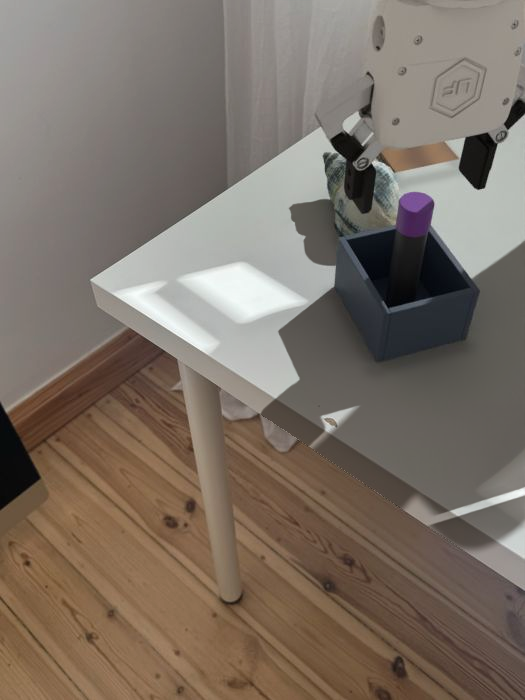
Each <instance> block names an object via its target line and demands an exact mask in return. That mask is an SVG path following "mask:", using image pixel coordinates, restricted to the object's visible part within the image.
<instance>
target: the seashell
mask: <svg viewBox="0 0 525 700" xmlns="http://www.w3.org/2000/svg"><path fill="white" fill-rule="evenodd" d="M322 159H323V164H324V174H325V177H326V188H327V192H328V196H329V199H330V200H331V202H332V203H333V204H334V205H333V210H334V218H335V219H334V221H333V225H334V228H335V230H336V233H337V234H338V236H339V237H343V236H347V235H352V234H356V233H361V232H365V231H370V230H374V229H378V228H383V227H387V226H392V225H396V219H397V212H398V205H399V200H400V198H401V195H400V188H399V182H398V179H397V177H396V174H395V173H393V171H392V169H391V168H390V167H388V165H387V164H386V163H385V162H384V163H383V162H381V161H376V160H374V161H373V162H372V165H373V166H374V167H375V169H376V179H375V187H374V194H373V202H372V209H371V211H370V212H369V213H366V214H361V212H360V211H359V209H358V208H357V206H356V205H355V203H354V202H353V200H349V199H348V197H347V196H346V194H345V191H344V179H345V169H346V159H345V158H344V157H343V156H342V155H340V154H339V153H338V152H330V151H325V152H323V154H322Z"/></svg>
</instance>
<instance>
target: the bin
mask: <svg viewBox="0 0 525 700" xmlns="http://www.w3.org/2000/svg"><path fill="white" fill-rule="evenodd" d="M395 233H396V225H392V226H387V227H383V228H378V229H374V230H370V231H365V232H361V233H356V234H352V235H347V236H343V237H340V236H339V237H337V246H336V257H335V258H336V259H335V272H334V284H333V286H334V289H335V291H336V293H337V294H338V296H339V298H340V300H341V301H342V303H343V305H344V307H345V308H346V310H347V312H348V314H349V315H350V317H351V319H352V321H353V322H354V325H355V326H356V328H357V330H358V331H359V333H360V335H361V337H362V339H363V341H364V343H365V344H366V346H367V348H368V350H369V351H370V353H371V355H372V357H373V359H374V361H375V362H376V363H377V364H379V363H382V362H385V361H390V360H393V359H397V358H401V357H404V356H408V355H412V354H416V353H420V352H424V351H427V350H431V349H435V348H438V347H442V346H446V345H450V344H453V343H454V344H455V343H457V342H461V341H465V340H467V339H468V335H469V331H470V328H471V324H472V321H473V317H474V314H475V310H476V308H477V307H476V306H477V303H478V299H479V296H480V292H481V290H480V288H479V287H478V286H477V284H476V283H475V282H474V280H473V279H472V277H471V276H470V275H469V273H468V272H467V271H466V269H464V266H463V265H462V264H461V263H460V262H459V260H458V259H457V258H456V256H455V255H454V254H453V252H452V251H451V250H450V248H449V247H448V245H447V244H446V242H445V241H444V240H443V239H442V238H441V236H440V235H439V233H438V232H437V230H435V228H434V226H433V225H431V226H430V230H429V231H428V234H427V240H426V245H425V250H424V255H423V260H422V265H421V270H420V275H419V281H418V286H417V291H416V296H415V301H414V302H412V303H408V304H404V305H400V306H396V307H392V308H387V306H386V305H385V299H386V292H387V286H388V279H389V273H390V266H391V260H392V253H393V247H394V240H395Z"/></svg>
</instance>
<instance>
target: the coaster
mask: <svg viewBox="0 0 525 700" xmlns="http://www.w3.org/2000/svg"><path fill="white" fill-rule="evenodd" d="M378 156H380V157H381V159H382V160H383V161H384V164H385V165H387V166H388V167H390V168H391V169H392V171H393V173H394V174H395V173H400V172H405V171H410V170H414V169H420V168H425V167H429V166H433V165H438V164H442V163H448V162H451V161H458V160H460V157H459V156H457V154H456V153H455V151H453V149H451V147H450V146H449V145H448V144H447V142H446V141H444V142H439V143H434V144H428V145H423V146H417V147H412V148H406V149H388V148H384V149H383V150H382V152H381V153H380V154H379V155H378Z"/></svg>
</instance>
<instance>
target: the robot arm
mask: <svg viewBox="0 0 525 700" xmlns="http://www.w3.org/2000/svg"><path fill="white" fill-rule="evenodd" d="M524 47H525V0H377V3H376V6H375V9H374V13H373V16H372V20H371V25H370V27H369V32H368V37H367V41H366V45H365V49H364V50H365V51H364V57H363V62H362V66H361V75H360V79H358V80H356V81H355V82H354V83H352V84H350V85H348V87H346V88H345V89H343V90H342V91H340V92H339V93H336V95H334V96H332V97H331V98H329V99H328V100H326V101H325V102H324V103H322V104H321V105H319V106H318V107H316V109H315V110H314V117H315V119H316V121H317V122H318V124H319V126H320V128H321V130H322V132H323V133H324V135H325V138H326V139H327V141H328V142H329V143H330V146H332V148H333V149H334V151H335V152H336V153H339V154H340V155H342V156H343V157H344V158H345V159H346V169H345V179H344V191H345V194H346V196H347V197H348V199H349V200H353V202H354V203H355V205H356V206H357V208H358V209H359V211H360V212H361V214H366V213H369V212H370V211H371V209H372V202H373V194H374V187H375V179H376V169H375V167H374V166H373V165H372V162H373V161H376V159H377V158H378V156H380V155H379V154H380V153H381V152H382V150H383V149H384V148H388V149H406V148H412V147H417V146H423V145H428V144H434V143H439V142H448V141H454V140H459V139H464V141H463V146H462V150H461V155H460V158H459V164H458V171H459V172H460V174H461V175H462V176H463V178H465V179H466V180H467V182H468V183H469V184H470V186H472V187H473V189H474V190H477V191H480V190H484V189H486V187H487V183H488V178H489V175H490V172H491V170H492V167H493V164H494V159H495V156H496V152H497V148H498V144H502V143H503V142H505V141H506V140H507V139H508V137H509V135H510V134H509V133H510V132H509V130H510V129H511V128H512V127H513V126H515V124H516V123H517V122H519V121H520V120H521V119H522V118H523V117H524V116H525V63H524V62H522V58H523V55H524V54H523V53H524ZM357 112H358V116H359V118H360V119H359V120H358V121H357V122H356V123H355V125H354V126H353V127H352V128H351V130H349V132H347V130H345V129H344V122H345V120H347V119H348V118H350V117H351V116H353V115H354V114H356V113H357ZM371 134H372V135H371ZM370 135H371V136H370ZM369 136H370V137H369ZM366 140H367V141H366ZM365 141H366V142H365ZM364 142H365V143H364ZM363 143H364V144H363Z"/></svg>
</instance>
